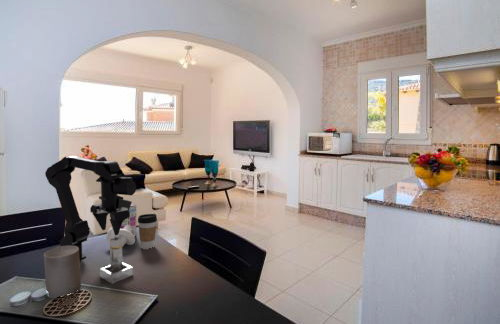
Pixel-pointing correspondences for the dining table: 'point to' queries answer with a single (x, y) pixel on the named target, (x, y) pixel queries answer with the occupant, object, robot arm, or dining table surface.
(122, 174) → the robot arm
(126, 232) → the white knot sculpture
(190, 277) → the dining table surface
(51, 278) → the pillar candle
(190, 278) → the dining table surface
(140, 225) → the coffee cup
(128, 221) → the candy bar box
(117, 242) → the tube
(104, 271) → the white square flat box
